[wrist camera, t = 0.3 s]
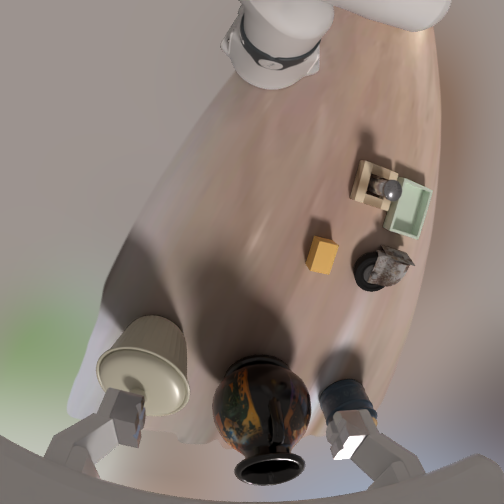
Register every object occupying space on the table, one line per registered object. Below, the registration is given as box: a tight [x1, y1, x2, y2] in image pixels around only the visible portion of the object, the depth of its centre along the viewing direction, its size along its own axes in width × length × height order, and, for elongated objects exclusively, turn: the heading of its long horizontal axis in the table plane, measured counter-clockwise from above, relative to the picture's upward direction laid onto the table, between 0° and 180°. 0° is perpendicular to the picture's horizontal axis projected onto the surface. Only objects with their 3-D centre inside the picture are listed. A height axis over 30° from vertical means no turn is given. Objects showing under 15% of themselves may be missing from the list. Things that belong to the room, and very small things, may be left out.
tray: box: [383, 177, 433, 240], centre depth 55 cm, size 11×8×3 cm
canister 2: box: [320, 379, 377, 427], centre depth 64 cm, size 13×13×18 cm
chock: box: [306, 236, 339, 275], centre depth 56 cm, size 6×4×4 cm, turn 166°
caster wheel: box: [354, 245, 415, 292], centre depth 58 cm, size 7×11×10 cm
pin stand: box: [350, 160, 398, 211], centre depth 53 cm, size 8×8×2 cm
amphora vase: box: [212, 355, 311, 486], centre depth 54 cm, size 22×22×28 cm
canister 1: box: [96, 315, 190, 416], centre depth 52 cm, size 18×18×21 cm
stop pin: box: [367, 178, 402, 201], centre depth 50 cm, size 4×4×9 cm
